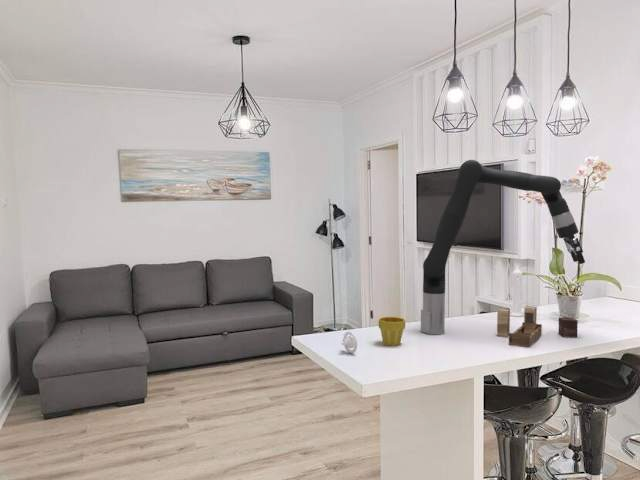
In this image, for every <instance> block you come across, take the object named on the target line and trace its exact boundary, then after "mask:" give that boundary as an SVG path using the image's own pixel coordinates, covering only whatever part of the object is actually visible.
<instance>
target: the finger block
mask: <svg viewBox="0 0 640 480" xmlns="http://www.w3.org/2000/svg"><path fill="white" fill-rule="evenodd" d="M510 313H511V309H507V308H499V309H497V317H496V318H497V319H496V320H497V323H496V324H497V326H496V337H502V338H509V333H510V325H511V324H510V320H511V316H510Z"/></svg>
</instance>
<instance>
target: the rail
mask: <svg viewBox="0 0 640 480" xmlns="http://www.w3.org/2000/svg"><path fill="white" fill-rule="evenodd" d="M523 311H524V313H523V314H524V316H523V322H522V325H521V326H520V327H518V328H516V330H515V331H514V332H509V336H508V345H509V346H514V347H521V348H526V349H527V348H529V349H530V348H531V347H532V346H533V344H535V343H536V342H537V340H539V339H540V337H541V336H542V330H543V327H542V326H543V325H542V324H541V323H537V315H538V314H537V311H538V309H537V306H529V305H527V306H524V310H523Z"/></svg>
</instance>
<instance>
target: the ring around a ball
mask: <svg viewBox="0 0 640 480" xmlns="http://www.w3.org/2000/svg"><path fill="white" fill-rule="evenodd" d="M348 335H349V336H348ZM340 344H341V345H343V346H344V348H345V351H346V352H347V353H349V354H353V353H355V352H356V351H357V349H358V339H357V335H356V334H355V333H354V332H353V331H350V330H348V331H346V332H345V333H344V335H343V340H342V342H341V343H340Z"/></svg>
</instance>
